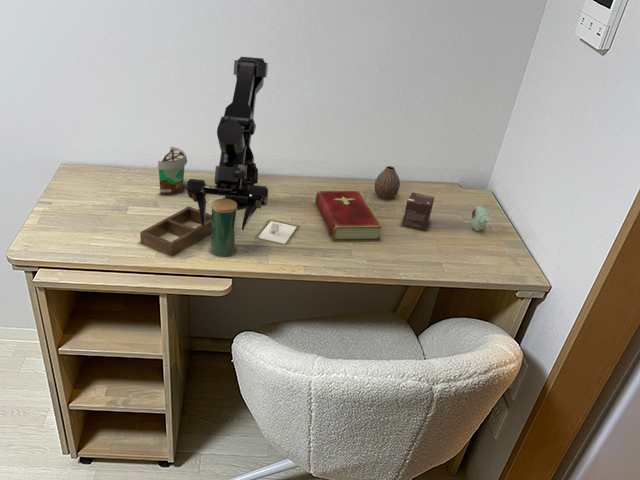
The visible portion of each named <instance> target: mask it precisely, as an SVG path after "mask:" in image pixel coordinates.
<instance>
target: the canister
mask: <svg viewBox="0 0 640 480" xmlns="http://www.w3.org/2000/svg"><path fill="white" fill-rule="evenodd" d="M237 210H238V208H237V203H236V202H235V201H233V200H230V199H223V198H217V199H214V200H213V201H212V202H211V215H212V227H211V233H210V252H211V253H212V254H213V255H215V256H217V257H218V256H219V257H229V256H232V255H233V254H235V250H236V249H235V248H236V230H237Z"/></svg>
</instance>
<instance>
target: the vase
mask: <svg viewBox="0 0 640 480" xmlns="http://www.w3.org/2000/svg"><path fill="white" fill-rule="evenodd" d="M400 186H401V181H400V177H399V175H398V173H397V171H396V168H395V167H394V166H392V165H387V166H386V167H385V168H384V169H383V170H382V171H381V172H380V173H379V174H378V175H377V177H376V178H375V181H374V187H373V188H374V193H375V195H376V197H378V199H381V200H387V201H388V200H391V199H393V198H394V197H396V196H397V194H398V192H399V190H400V188H401V187H400Z"/></svg>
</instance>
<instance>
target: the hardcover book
mask: <svg viewBox="0 0 640 480" xmlns="http://www.w3.org/2000/svg"><path fill="white" fill-rule="evenodd" d="M315 204H316V206H317V209H318V210H319V213H320V215H321V217H322V219H323V222H324V224H325V225H326V227H327V229H328V232H329V234H330V235H331V239H332V240H333V241H334V242H379V241H380V237H379V233H380V229H382V228H383V225H382V224H381V222H380V220H379V219H378V217H377V216H376V215H375V213H374V212H373V210H372V208H371V207H370V205H369V203H368V202H367V200H366V198H365V197H364V196H363V194H362V192H361V191H360V190H318V191H316V193H315Z"/></svg>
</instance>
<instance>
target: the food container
mask: <svg viewBox="0 0 640 480" xmlns="http://www.w3.org/2000/svg"><path fill="white" fill-rule="evenodd" d="M187 164H188V158H187V154H186V153H185V151H184V150H183V149H180V148H178V147H174V146H170V150H169V152H168V153H166V154H165V155H164V157H163V159H162V160H158V163H157V170H158V180H159V181H158V182H159V194H160V195H161V196H171V195H177V194H179V193H181V192H183V190H184V179H185V167H186V165H187Z"/></svg>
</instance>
